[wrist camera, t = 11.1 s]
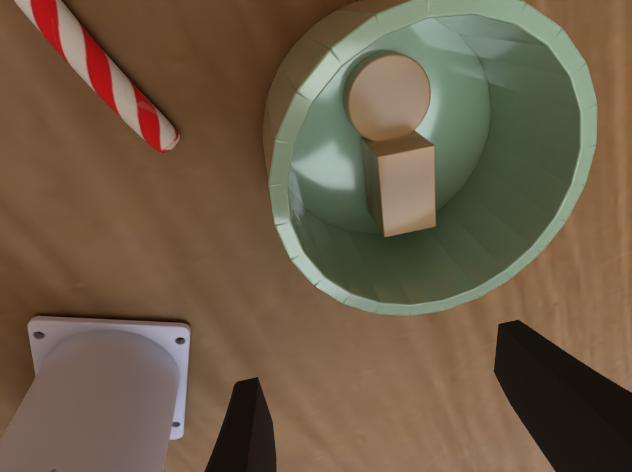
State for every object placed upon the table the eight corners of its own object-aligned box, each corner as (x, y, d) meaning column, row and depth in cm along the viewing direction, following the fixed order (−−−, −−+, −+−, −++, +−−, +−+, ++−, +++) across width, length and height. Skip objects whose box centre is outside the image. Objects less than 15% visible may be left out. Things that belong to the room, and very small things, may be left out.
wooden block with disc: (425, 198, 21) (449, 224, 18) (356, 213, 21) (370, 240, 18) (421, 43, 17) (450, 50, 15) (337, 59, 17) (352, 69, 15)
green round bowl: (449, 245, 23) (514, 322, 18) (248, 225, 21) (250, 307, 15) (534, 26, 18) (664, 36, 13) (282, -35, 16) (303, -56, 10)
